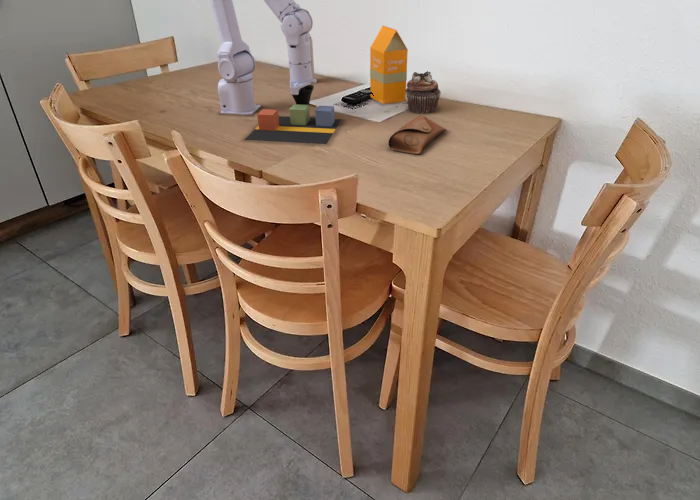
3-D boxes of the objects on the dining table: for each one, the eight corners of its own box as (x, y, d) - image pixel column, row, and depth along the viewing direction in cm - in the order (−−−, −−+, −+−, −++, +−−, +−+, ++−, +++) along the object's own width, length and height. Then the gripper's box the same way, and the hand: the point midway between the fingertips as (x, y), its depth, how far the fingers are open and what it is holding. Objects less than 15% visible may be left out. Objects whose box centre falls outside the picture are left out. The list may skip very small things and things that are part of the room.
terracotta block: (259, 130, 128) (257, 114, 125) (264, 124, 131) (262, 109, 129) (274, 130, 127) (272, 115, 125) (279, 125, 130) (277, 109, 128)
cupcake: (411, 115, 135) (413, 78, 130) (401, 105, 143) (402, 69, 138) (444, 112, 137) (447, 75, 131) (432, 102, 145) (435, 67, 139)
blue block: (315, 126, 129) (314, 110, 127) (319, 120, 133) (318, 105, 130) (331, 126, 128) (330, 111, 126) (334, 121, 132) (334, 105, 130)
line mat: (244, 140, 122) (244, 139, 122) (268, 117, 137) (267, 115, 137) (326, 145, 119) (326, 144, 119) (341, 120, 133) (341, 119, 133)
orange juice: (382, 104, 144) (383, 31, 133) (369, 97, 151) (369, 26, 139) (406, 101, 146) (409, 28, 135) (392, 93, 153) (394, 23, 142)
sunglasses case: (421, 153, 112) (408, 127, 110) (396, 163, 116) (384, 138, 115) (448, 128, 125) (437, 104, 123) (425, 138, 129) (414, 115, 128)
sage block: (290, 124, 130) (289, 109, 128) (295, 119, 134) (293, 104, 132) (305, 125, 130) (304, 109, 127) (309, 120, 133) (308, 104, 131)
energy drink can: (316, 79, 168) (314, 32, 160) (311, 84, 163) (308, 36, 155) (300, 78, 170) (296, 32, 161) (294, 83, 165) (290, 35, 156)
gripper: (307, 69, 120) (311, 123, 128) (321, 55, 132) (324, 106, 139) (280, 68, 121) (285, 122, 129) (296, 55, 133) (300, 105, 141)
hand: (303, 113), depth 134 cm, fingers closed
